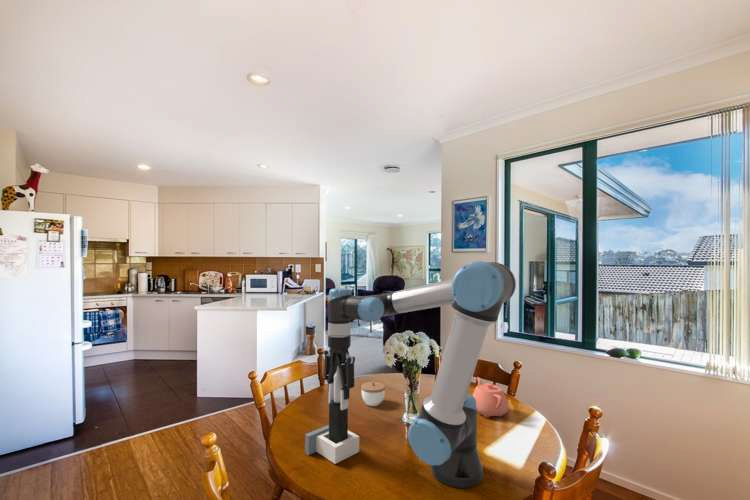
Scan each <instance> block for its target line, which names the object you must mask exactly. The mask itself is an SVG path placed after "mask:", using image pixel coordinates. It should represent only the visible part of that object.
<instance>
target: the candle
mask: <svg viewBox="0 0 750 500" xmlns="http://www.w3.org/2000/svg"><path fill="white" fill-rule="evenodd" d="M341 388H343V387H342V381H341V375H340V369H339V368H338V366H337V371H336V373H335V375H334V400H332V401H331V402H330V403H329V402H328V425H329V440H330V441H332V442H334V443H335V444H337V443H339V442H341V441H344V440H346V439H348V430H349V429H348V428H349V427H348V425H349V422H348V421H349V414H348V413H349V409H348V408H349V407H348V408H347V409H344V410H340V405H341Z"/></svg>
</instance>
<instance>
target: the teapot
mask: <svg viewBox="0 0 750 500" xmlns="http://www.w3.org/2000/svg"><path fill="white" fill-rule="evenodd" d="M476 379H477V386H476V387H475V388H474V391H473V393H472V396H473V397H474V398H475V399H476V405H477V413H479V414H480V415H482V416H483V418H485V419H490V418H491V417H498V416H504V415H506V414H507V412H508V410H509V405H508V403H509V402H508V400H507V396H506V394H505V392H504V390H503V389H502V388H501V387H499V386H498V385H496V384H493V383H491V382H487V383H485V384H483V382H482V379H481V378H480V377H479V376H477V377H476ZM489 417H490V418H489Z"/></svg>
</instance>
